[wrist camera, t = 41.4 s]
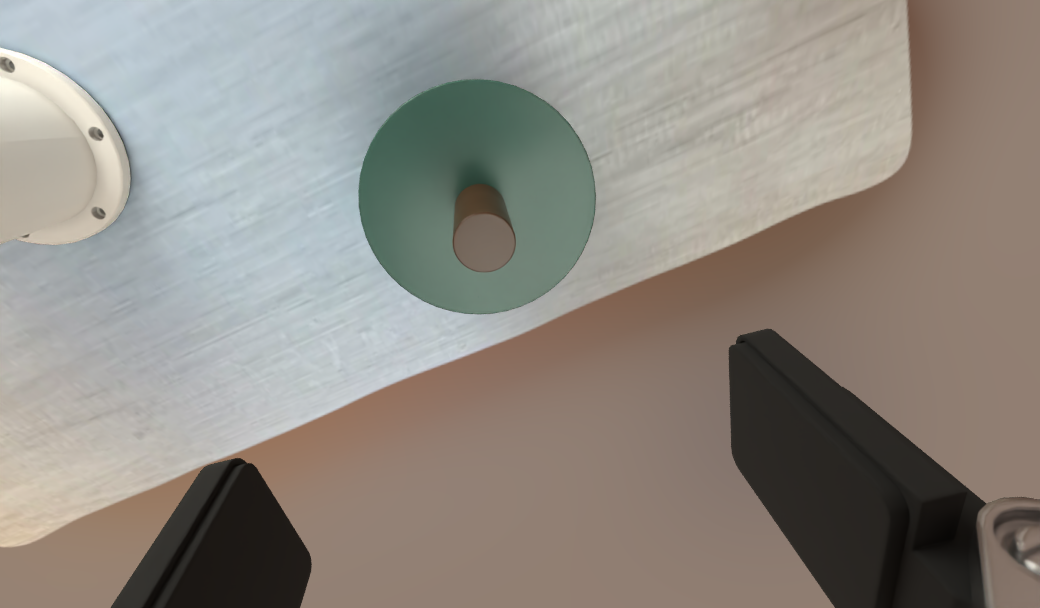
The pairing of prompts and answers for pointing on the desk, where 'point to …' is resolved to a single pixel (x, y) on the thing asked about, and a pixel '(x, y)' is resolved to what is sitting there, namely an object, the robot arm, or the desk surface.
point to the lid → (477, 196)
